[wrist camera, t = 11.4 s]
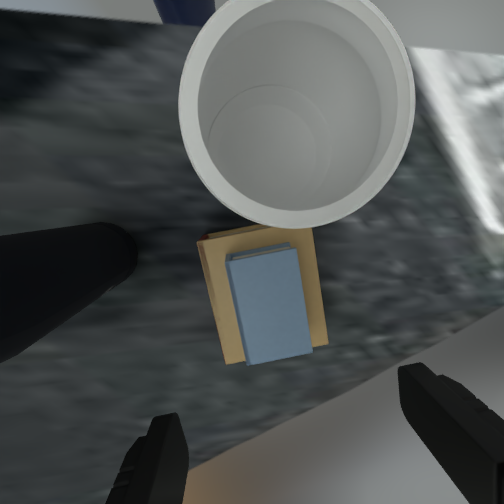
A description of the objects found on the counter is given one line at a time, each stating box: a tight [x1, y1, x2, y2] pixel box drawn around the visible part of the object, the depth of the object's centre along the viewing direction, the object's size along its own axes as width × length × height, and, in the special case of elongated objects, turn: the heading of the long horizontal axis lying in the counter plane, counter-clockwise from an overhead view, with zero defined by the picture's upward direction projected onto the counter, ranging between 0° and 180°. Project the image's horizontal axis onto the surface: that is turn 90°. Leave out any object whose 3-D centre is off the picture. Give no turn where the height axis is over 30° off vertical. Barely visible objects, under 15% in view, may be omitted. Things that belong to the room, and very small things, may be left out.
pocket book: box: [225, 242, 313, 366], centre depth 23 cm, size 9×6×3 cm, turn 11°
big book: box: [197, 224, 328, 365], centre depth 27 cm, size 12×10×4 cm
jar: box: [178, 0, 415, 229], centre depth 19 cm, size 11×10×15 cm
